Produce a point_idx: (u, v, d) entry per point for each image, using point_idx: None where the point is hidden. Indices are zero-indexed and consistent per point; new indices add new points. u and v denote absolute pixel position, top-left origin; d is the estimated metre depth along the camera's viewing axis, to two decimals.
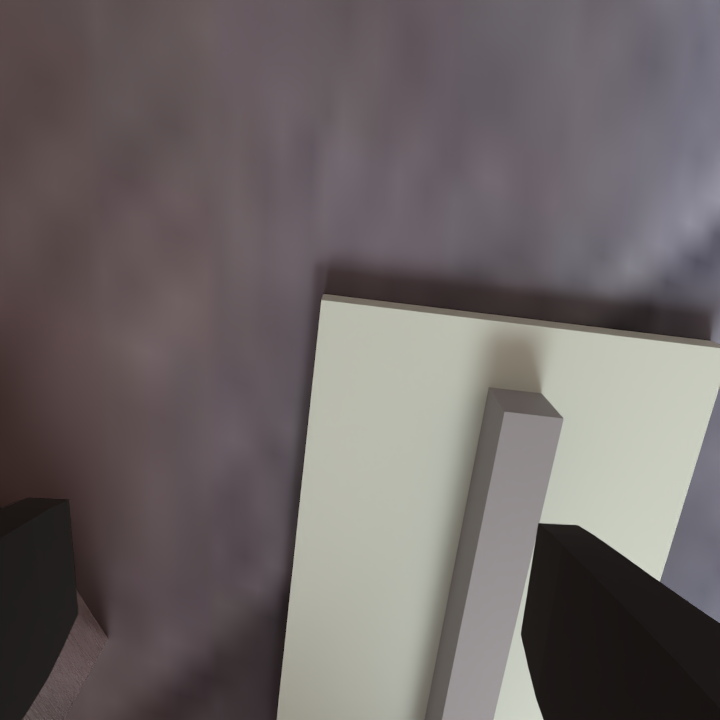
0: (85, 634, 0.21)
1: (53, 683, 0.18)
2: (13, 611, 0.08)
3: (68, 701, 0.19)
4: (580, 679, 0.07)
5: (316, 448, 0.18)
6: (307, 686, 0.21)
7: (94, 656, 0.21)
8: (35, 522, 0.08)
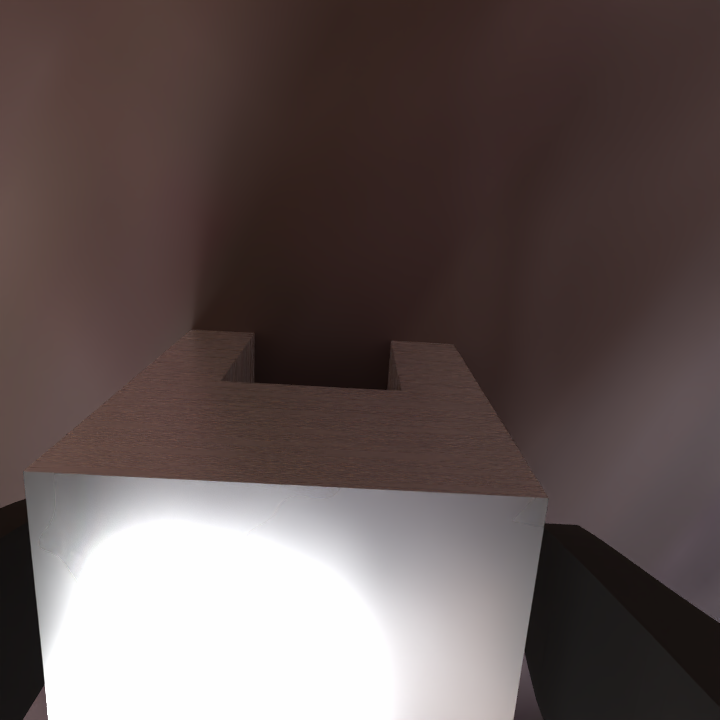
0: None
1: None
2: (13, 611, 0.08)
3: None
4: (581, 680, 0.07)
5: None
6: None
7: None
8: None
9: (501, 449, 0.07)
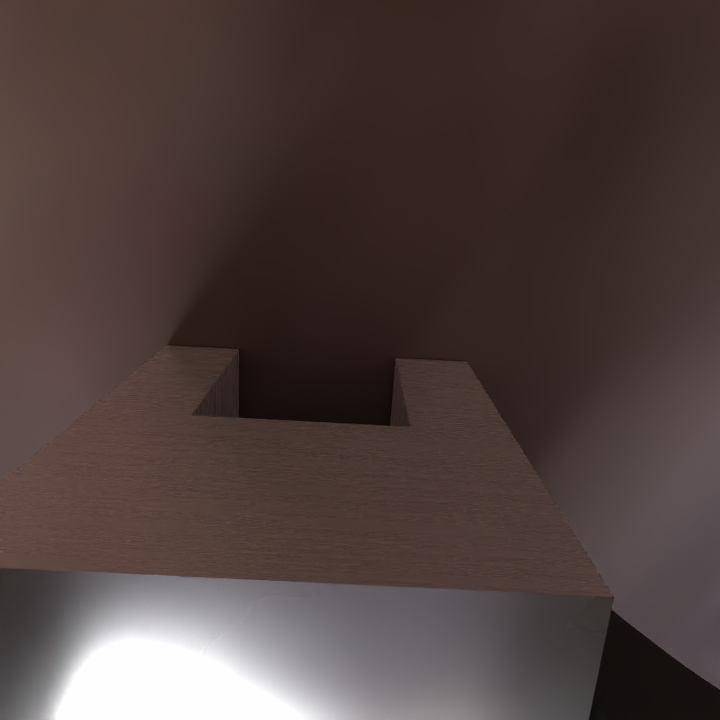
0: None
1: None
2: None
3: None
4: None
5: None
6: None
7: None
8: None
9: (540, 514, 0.05)
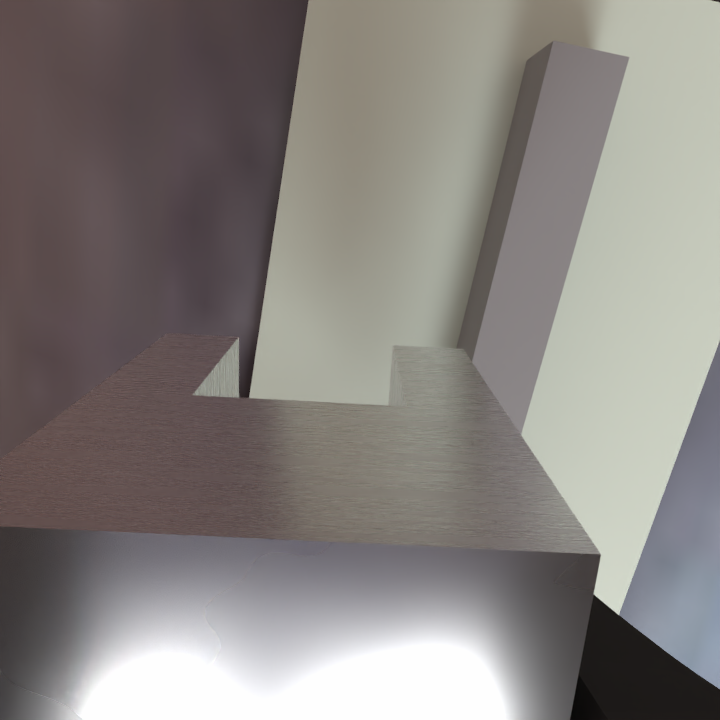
0: None
1: None
2: None
3: None
4: None
5: (302, 134, 0.15)
6: None
7: None
8: None
9: (532, 483, 0.06)
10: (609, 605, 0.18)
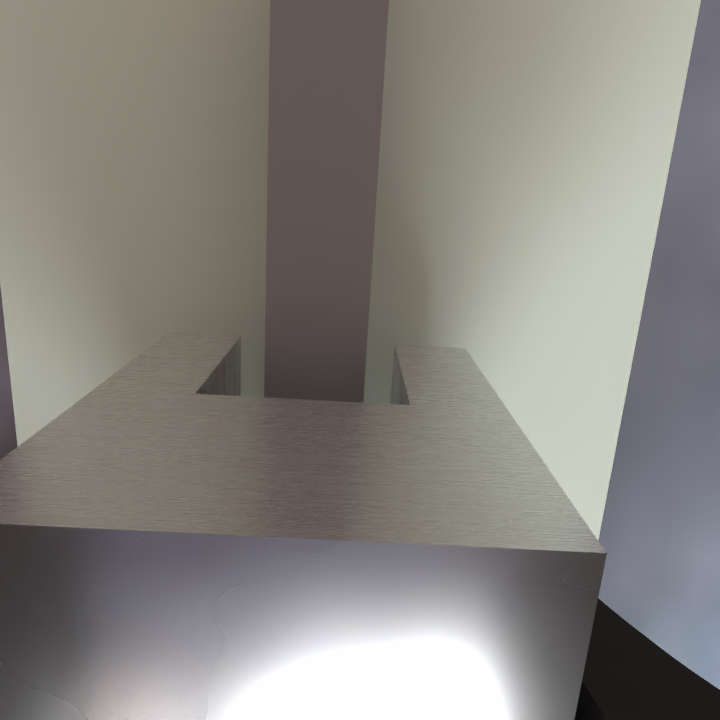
0: None
1: None
2: None
3: None
4: None
5: (3, 123, 0.10)
6: None
7: None
8: None
9: (536, 482, 0.06)
10: None
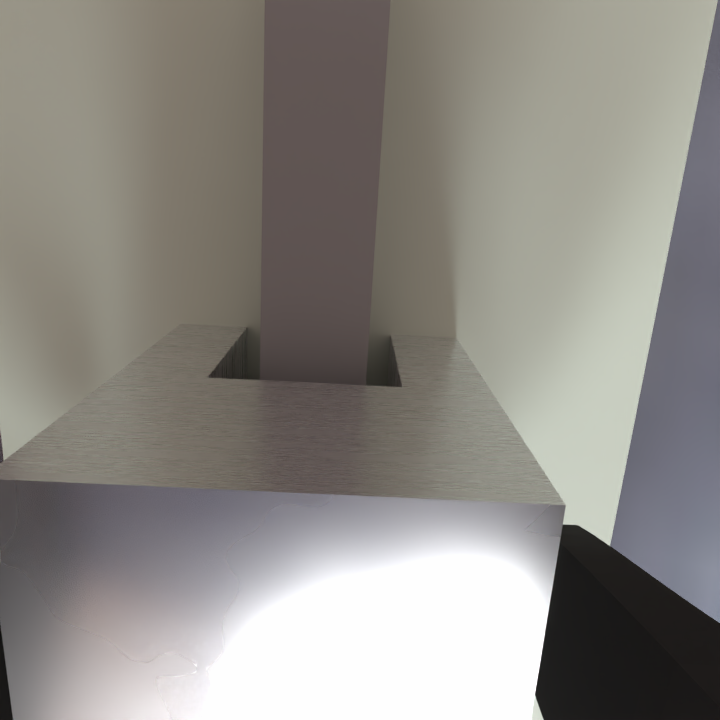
0: None
1: None
2: None
3: None
4: (580, 680, 0.07)
5: None
6: None
7: None
8: None
9: (511, 450, 0.06)
10: None
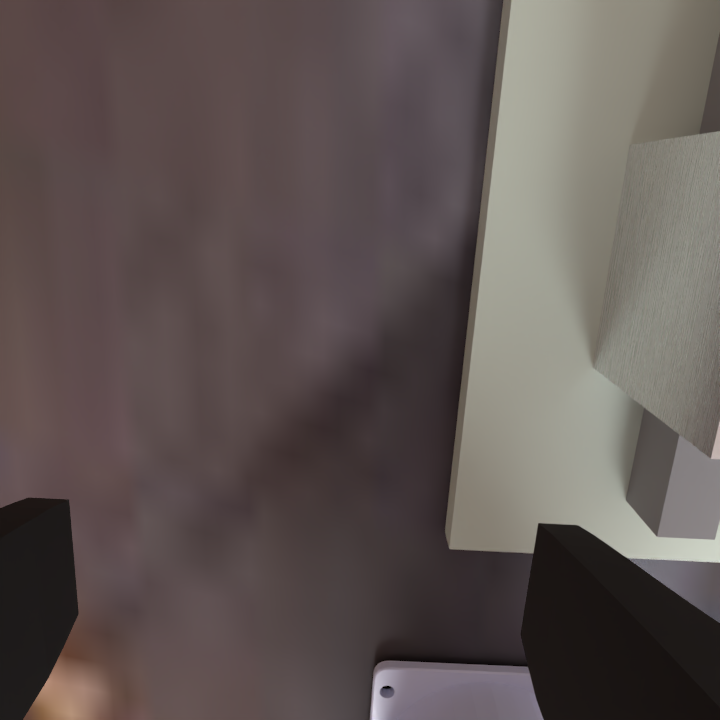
0: None
1: None
2: (13, 611, 0.08)
3: None
4: (580, 679, 0.07)
5: None
6: (504, 351, 0.17)
7: None
8: (35, 522, 0.08)
9: None
10: None
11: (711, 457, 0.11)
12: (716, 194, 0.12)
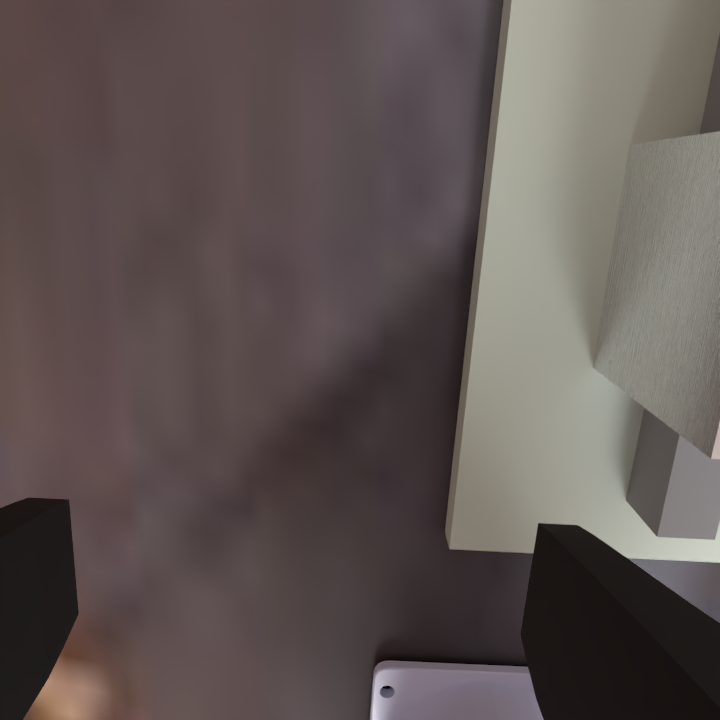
0: None
1: None
2: (13, 611, 0.08)
3: None
4: (580, 679, 0.07)
5: None
6: (504, 351, 0.17)
7: None
8: (35, 522, 0.08)
9: None
10: None
11: (711, 457, 0.11)
12: (716, 194, 0.12)
